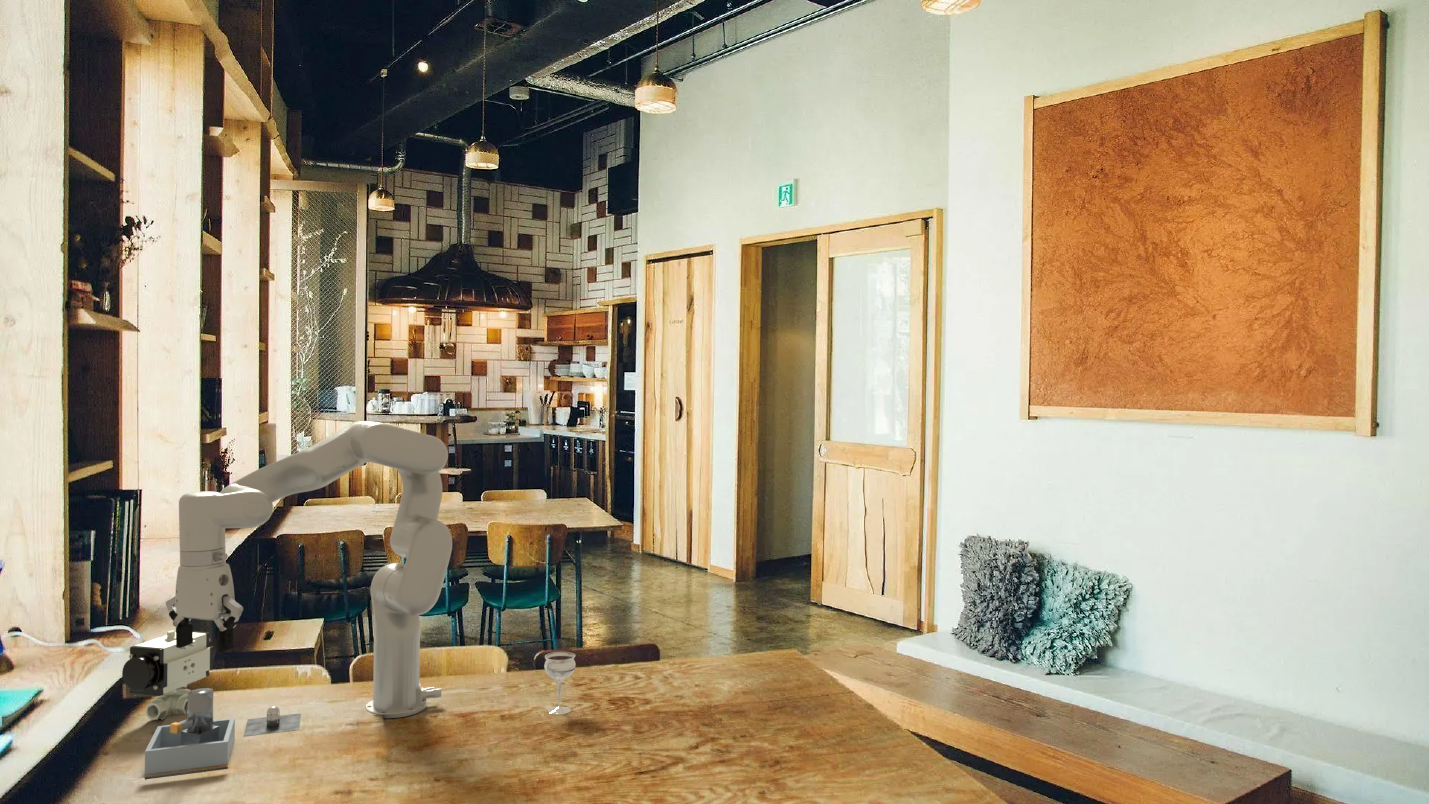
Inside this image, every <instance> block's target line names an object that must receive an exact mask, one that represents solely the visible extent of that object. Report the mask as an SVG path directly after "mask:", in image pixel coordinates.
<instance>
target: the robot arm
mask: <svg viewBox="0 0 1429 804" xmlns="http://www.w3.org/2000/svg"><path fill="white" fill-rule="evenodd" d="M448 459H449V452H448V448H447V446H446V444H445V443H444V442H443V441H442V440H441V439H440V438H438V437H437V436H434V435H430V434H427V433H426V434H425V433H422V432H418V431H414V430H411V429H406V428H402V427H398V426H396V425H391V424H389V423H385V422H379V421H370V420H369V421H368V420H367V421H366V420H363V421H362V420H360V421H356V422H354V423H351V424H349V425H347V426H344V427H343V428H342V429H340V430H338V431H336V432H334V433H332V434H330V435H329V436H327V437H325V438H323V439H321V440H319V441H318V442H316V443H314V444H312V445H310V446H308V447H306V448H304V449H303V450H301V451H298V452H297V453H293V454H291V455H290V456H288V455H287V456H286V457H284V458H282V459H280V460H277V461H275V462H271V463H269V464H268V465H265V466H263V467H261V468H257V469H256V470H254V471H252V472H250V473H248V474H247V475H245V476H243V477H241V478H239V479H237V480H235V481H233V482H232V483H230V484H229V485H228V484H227V486H226V487H224V488H222V490H221V491H219V492H218V491H205V490H204V491H195V492H188V493H185V494H183V495H181V497H180V498H179V500H178V530H179V535H178V536H179V565H178V567H177V568H178V569H177V572H176V573H177V575H176V581H175V582H176V583H175V594H174V596H173V597H171V598H170V599H168V600H166V601H165V607H166V609H167V611H168V612H169V613H168V616H169V617H170V619H171V620H172V625H173V627H175V632H176V647H177V648H181V647H184V646H187V645H190V644H192V643H193V628H194V627H193V623H192V622H190V621H191V620H202V621H214V623H215V625H216V627H217V628H218V629H219V630H218V631H216V651H217V653H223V652H227V651H229V650H232V649H233V648H234V628H236V626H237V624H238V623H239V622H240V619H241V616H242V614H243V611H244V607H243V606H242V605H241V604H240V603H239V602H237V601H236V600H235V599H236V598H235V588H234V582H233V581H234V580H233V575H232V571H231V567H230V564H229V563H227V561H226V560H227V559H228V553H226V529H253V528H256V527H260V526H262V525H263V524H266V522H268V521H269V520H270V518H271V516H272V515H273V511H274V505H273V504H274V502H276V501H278V500H280V499H282V498H285V497H289V496H291V495H295V494H300V493H306V492H312V491H316V490H319V489H322V488H324V487H326V486H328V485H329V484H332V483H333V482H335V481H337V480H338V479H340V478H342V477H343V476H346V475H347V474H348V473H350V472H352V471H353V470H355V469H357V468H358V467H361V466H362V465H365V464H366V463H372V464H377V465H382V466H385V467H387V468H388V467H389V468H394V469H396V471H397V472H398V474H399V476H400V478H401V482H402V483H401V484H402V492H401V497H400V501H399V505H398V510H397V512H396V516H395V520H394V522H393V523H394V524H393V526H392V530H391V534H390V538H389V545H390V547H391V550H392V551H393V553H395V554H396V555H398V556H400V557H401V558H404V559H405V562H404V563H400V562H393V563H388V564H386V565H383V566H382V567H381V568H379V569H378V570H377V571H376V572H375V574H374V576H373V578H372V579H371V583H370V584H371V585H370V598H371V599H370V600H371V605H372V612H373V671H372V672H373V678H372V679H373V682H372V684H373V685H372V688H373V691H372V700H370V701H369V702H367V703H366V704H365V708H364V709H365V710H366V711H367V712H369V713H370V714H373V715H381V717H382V719H396V718H397V719H398V718H399V719H400V718H404V717H410V716H413V715H416V714H419V713H420V712H423V711H424V710H425V708H427V699H439V698H442V688H441V687H440V688H435V686H429V687H424V686H422V685H421V681H420V669H421V667H420V659H421V655H420V654H421V652H420V651H421V649H420V648H421V647H420V646H421V619H420V618H421V617H420V616H421V615H425V614H426V613H428V612H430V610H431V609H432V608H434V606H435V605H436V603H437V602H438V600H439V597H440V595H441V591H442V588H443V584H444V583H445V582H444V581H445V579H446V574H447V571H448V566H449V564H450V559H451V556H452V555H451V554H452V551H453V536H452V533H451V530H450V528H449V527H448V526H447V525H446V524H445V523H443V522H442V521H440V520H438V517H439V513H440V509H441V503H442V497H443V482H442V476H441V474H440V472H441V471H442V470H443V469H444V468H445V466H446V464H447V463H448ZM223 619H224V620H223Z"/></svg>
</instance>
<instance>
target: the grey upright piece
mask: <svg viewBox="0 0 1429 804" xmlns="http://www.w3.org/2000/svg"><path fill="white" fill-rule="evenodd" d="M213 720H214V689H213V688H210V687H209V688H208V687H205V688H204V687H201V688H196V689H192V690H191V691H190V692H188V713H187V717H186V719H183V720H181V721H179V722H177V721H174V722H172V723H170V724H169V725H170V733H175V734H178V733H180V732H181V746H183V745H191V744H200V743H208V742H217V741H219V726H214V725H213ZM186 728H187V729H186ZM184 729H186V730H184ZM182 730H183V731H182Z"/></svg>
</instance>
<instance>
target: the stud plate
mask: <svg viewBox="0 0 1429 804" xmlns="http://www.w3.org/2000/svg"><path fill="white" fill-rule="evenodd" d="M301 715H302V713H293V714H285V715H284V714H283V715H281V710H280V707H278V706H276V705H272V706H270V707H268V709H267V710H266V717H265V716H264V717H256V718H247V721H246V725H245V729H244V733H243V737H249V736H250V737H253V736H260V735H269V734H270V735H271V734H277V733H286V732H287V733H288V732H295V731H299V730H300V726H301V717H302V716H301Z"/></svg>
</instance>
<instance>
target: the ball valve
mask: <svg viewBox="0 0 1429 804" xmlns="http://www.w3.org/2000/svg"><path fill="white" fill-rule="evenodd" d="M215 656H216V646H215V643H214V641H213V640H212V639H211V638H210V632H207V631H196V630H195V631H193V643H192V644H190V645H187V646H184V647H181V648H177V647H176V630H169V631H166V634H165V635H164V636H160V637H157V638H154V639H151V640H148V641H145V642H142V643H139V644H136V645H132V646H130V647H129V655H128V658H129V659H128V660H127V661H126V662H125V663H124V665H123V667H122V674H121V676H122V680H123V682H124V684H125V686H126V687H127V688H128V689H129V694H134V695H148V696H157V697H156V698H155V697H154V699H152V700H151V701H150V702H148V704H147V705H146V707H145V710H144V712H145V715H146V717H147V718H148V719H149V720H152V721H159V720H158V719H161V720H160V721H162V720H165V718H166V717H168V716H170V715H176V716H177V715H187V714H188V692H190V691H192V690H191V689H188V688H187V687H188V685H191V684H192V683H195V682H197V681H200V680H202V679H204V678H207V677H210V670H212V669H214V658H215Z"/></svg>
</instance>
